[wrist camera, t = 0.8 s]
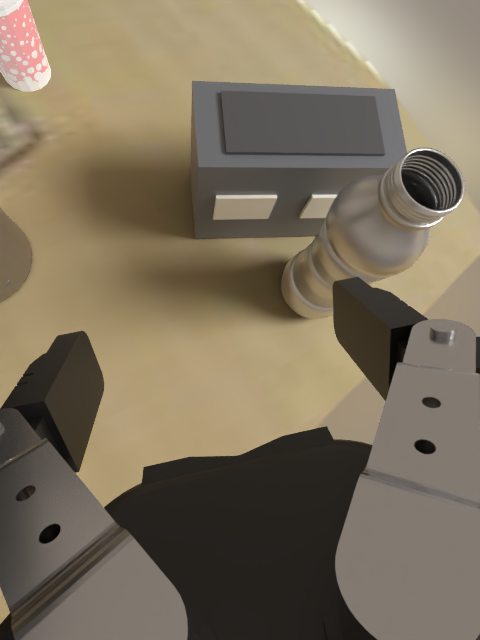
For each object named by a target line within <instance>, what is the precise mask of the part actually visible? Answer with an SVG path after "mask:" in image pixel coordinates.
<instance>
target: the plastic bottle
mask: <svg viewBox="0 0 480 640" xmlns="http://www.w3.org/2000/svg"><path fill="white" fill-rule="evenodd" d="M464 193H465V185H464V179H463V176H462V174H461V172H460V170H459V168H458V167H457V165H456V164H455V163H454V162H453V161H452V160H451V159H450V158H449V157H448V156H446V155H445V154H443V153H442V152H440V151H438V150H435V149H432V148H417V149H413V150H411V151H410V152H408V153H407V154H405V155H404V156H403V157H402V158H401V159H400V160H399V161H398V162H397V163H396V164H395V165H393V166H391V167H390V168H389V169H388V170H387V171H386V172H385V173H384V175H377V176H367V177H364V178H361V179H359V180H357V181H355V182H353V183H352V184H350V185H348V186H346V187H345V188H344V189H343V190H342V191H340V192H339V194H338V195H337V197H336V198H335V199H334V201H333V203H332V205H331V206H330V209H329V211H328V213H327V216H326V218H325V220H324V223H323V225H322V227H321V230H320V231H319V233H318V234H317V236H316V237H315V239H314V241H313V242H312V243H311V244H310V245H309V246H308V247H307V248H306V249H304V250H303V251H301V252H299V253H298V254H296V255H295V256H294V257H293V258H292V259H291V260H290V261H289V262H288V263H287V265H286V266H285V269H284V271H283V275H282V280H281V291H282V295H283V297H284V300H285V301H286V303H287V304H288V306H289V307H290V308H291V309H292V310H293V311H294V312H296V313H297V314H299V315H301V316H303V317H306V318H311V319H318V318H325V317H329V316H332V315H333V293H332V287H333V283H334V281H338V280H343V279H348V278H353V277H359V278H360V279H362V280H363V281H364V282H365V283H367V284H368V285H369V284H371V283H373V282H376V281H379V280H382V279H385V278H388V277H391V276H394V275H397V274H399V273H401V272H403V271H405V270H406V269H408V268H410V267H411V266H412V265H413V264H414V263H415V262H416V261H417V260H418V259H419V257H420V256H421V254H422V253H423V251H424V250H425V248H426V246H427V244H428V241H429V237H430V232H431V227H432V226H434V225H436V224H437V223H439V222H440V221H441V220H442V219H443V218H444V216H446V215H447V214H449V213H450V212H451V211H453V210H454V209H455V208H456V207H457V206H458V205H459V204H460V203H461V201H462V199H463V196H464Z"/></svg>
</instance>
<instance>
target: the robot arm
mask: <svg viewBox="0 0 480 640" xmlns="http://www.w3.org/2000/svg"><path fill="white" fill-rule="evenodd" d="M31 263H32V251H31V247H30V243H29V241H28V239H27V237H26V235H25V234H24V233H23V231H22V230H21V229H20V228H19V227H18V226H17V225H16V224H15V223H14V222H13V221H12V220H11V219H10V218H9V217H8V216H7V215H6V213H5V212H4V211H3V210H2V209H1V208H0V302H2V301H4V300H5V299H7V298H9V297H10V296H11V295H13V294H14V293H15V292H16V291H17V290H18V289H19V288H20V287H21V285H22V284H23V283H24V282H25V280H26V278H27V276H28V274H29V272H30V267H31ZM332 293H333V317H334V329H335V334H336V337H337V339H338V341H339V343H340V344H341V345H342V347H343V348H344V349H345V350H346V352H347V353H348V354H349V355H350V357H351V358H352V359H353V361H354V362H355V363H356V364H357V366H358V367H359V368H360V369H361V371H362V372H363V373H364V374H365V376H366V377H367V378H368V379H369V381H370V382H371V383H372V385H373V386H374V387H375V388H376V390H377V391H378V392H379V393H380V395H381V396H382V397H383V398H384V400H385V401H386V402H385V405H384V409H383V412H382V416H381V419H380V422H379V426H378V429H377V433H376V436H375V439H374V443H373V445H370V444H366V443H363V442H357V441H351V440H334V439H333V438H332V436H331V434H330V432H329V430H328V428H327V427H321V428H317V429H312V430H308V431H303V432H299V433H294V434H290V435H285V436H282V437H280V438H277V439H275V440H273V441H271V442H269V443H266V444H264V445H262V446H260V447H257V448H255V449H253V450H251V451H249V452H246V453H244V454H242V455H238V456H213V457H187V458H183V459H178V460H174V461H169V462H165V463H160V464H156V465H151V466H147V467H144V469H143V478H142V483H141V484H139V485H137V486H135V487H133V488H131V489H129V490H127V491H126V492H124V493H123V494H121V495H120V496H118V497H117V498H115V499H114V500H113V501H111V502H110V503H109V504H108V505H107V506H105V507H104V508H103V506H102V505H101V504H100V503H99V501H98V500H97V499H96V498H95V497H94V495H93V494H92V493H91V492H90V490H89V489H88V488H87V487H86V486H85V484H84V483H83V482H82V481H81V480H80V478H79V477H78V476H77V475H76V473H75V472H79V470H80V467H81V464H82V460H83V457H84V454H85V451H86V447H87V444H88V441H89V437H90V434H91V431H92V428H93V424H94V421H95V418H96V415H97V411H98V408H99V405H100V401H101V398H102V395H103V391H104V380H103V375H102V372H101V369H100V366H99V364H98V361H97V359H96V356H95V353H94V351H93V348H92V346H91V343H90V340H89V338H88V336H87V334H86V333H85V332H84V331H79V332H74V333H69V334H64V335H59V336H57V337H56V339H55V340H54V342H53V343H52V345H51V347H50V348H49V350H48V351H47V353H46V354H43V355H41V356H40V357H39V358H38V359H36V360H35V361H34V362H33V363H32V364H30V366H29V367H28V369H27V370H26V371H25V373H24V374H23V377H21V379H20V380H19V382H18V383H17V386H15V388H14V389H13V391H12V392H11V394H10V395H9V397H8V398H7V400H6V401H5V403H4V404H3V406H2V407H1V409H0V587H1V590H2V592H3V595H4V597H5V600H6V602H7V605H8V608H9V610H10V614H9V615H8V616H7V617H6V618H5V620H4V621H3V622H2V623H1V624H0V640H480V337H476V334H475V332H474V330H473V329H472V328H470V327H469V326H467V325H465V324H463V323H460V322H456V321H452V320H445V319H431V320H428V319H427V318H426V317H424V316H423V315H421V314H420V313H419V312H417V311H416V310H414V309H413V308H412V307H410V306H408V305H407V304H406V303H405V302H403V301H402V300H401V301H400V299H399V298H398V297H396V296H395V295H393V294H392V293H391V292H388V291H385V290H382V289H379V288H372V287H371V286H369V285H368V284H367V283H365V282H364V281H363V280H362V279H360V278H359V277H353V278H348V279H343V280H338V281H334V283H333V287H332Z"/></svg>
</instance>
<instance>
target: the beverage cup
mask: <svg viewBox="0 0 480 640" xmlns="http://www.w3.org/2000/svg"><path fill="white" fill-rule="evenodd" d="M0 72H1V74H2V75H3V77H4V78H5V80H6V81H7V83H9V84H10V85H11V86H12V87H13V88H15V89H18V90H21V91H35V90H39V89H41V88H42V87H44V86H45V85H46V84H47V83H48V81H49V80H50V78H51V69H50V66H49V63H48V60H47V57H46V54H45V51H44V48H43V45H42V42H41V39H40V36H39V33H38V30H37V27H36V25H35V22H34V19H33V16H32V13H31V10H30V7H29V4H28V1H27V0H0Z"/></svg>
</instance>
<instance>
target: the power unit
mask: <svg viewBox="0 0 480 640" xmlns="http://www.w3.org/2000/svg"><path fill="white" fill-rule="evenodd" d="M405 154H407V151H406V146H405V140H404V135H403V130H402V125H401V120H400V115H399V110H398V105H397V100H396V94H395V90H394V89H376V88H351V87H327V86H302V85H278V84H253V83H229V82H204V81H192V118H191V175H190V177H191V191H192V206H193V220H194V235H195V239H216V238H258V237H299V236H317V234H318V233H319V231H320V230H321V227H322V225H323V223H324V220H325V218H326V216H327V213H328V211H329V209H330V206H331V205H332V203H333V201H334V199H335V198H336V197H337V195H338V194H339V192H340V191H342V190H343V189H344V188H345V187H346V186H348V185H350V184H352V183H353V182H355V181H357V180H359V179H361V178H364V177H367V176H377V175H384V173H385V172H386V171H387V170H388V169H389V168H390V167H391V166H393V165H395V164H396V163H397V162H398V161H399V160H400V159H401V158H402V157H403V156H404V155H405Z"/></svg>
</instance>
